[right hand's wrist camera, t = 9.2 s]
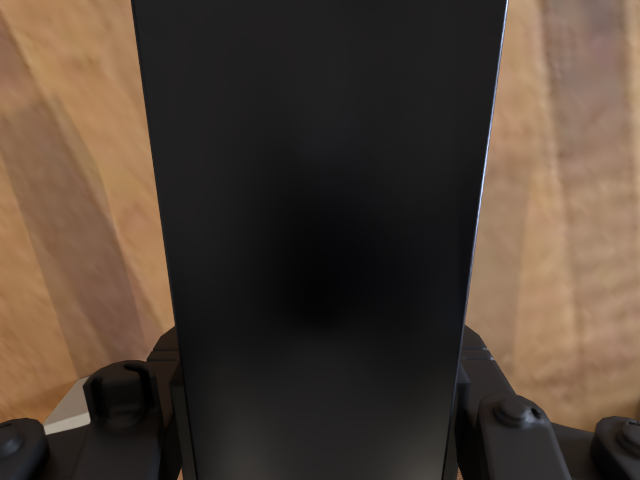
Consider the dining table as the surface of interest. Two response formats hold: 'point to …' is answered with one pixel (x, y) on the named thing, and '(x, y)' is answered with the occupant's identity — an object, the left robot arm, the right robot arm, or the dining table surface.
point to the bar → (319, 223)
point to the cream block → (69, 411)
